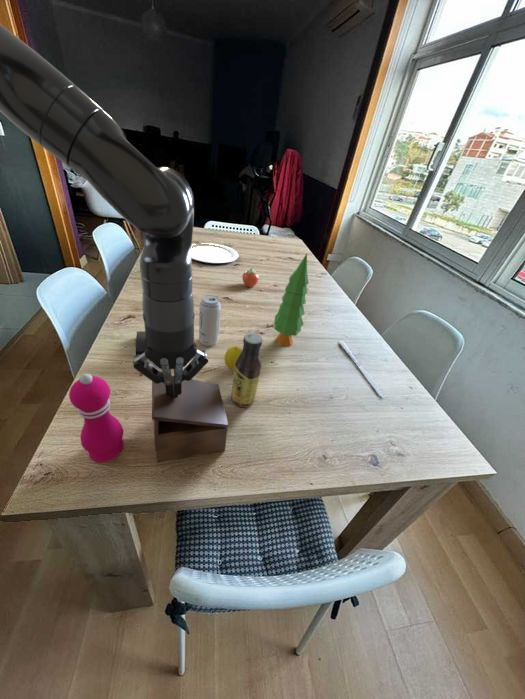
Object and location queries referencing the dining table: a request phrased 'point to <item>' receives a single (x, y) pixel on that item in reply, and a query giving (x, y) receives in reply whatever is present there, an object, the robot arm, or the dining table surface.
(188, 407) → the lid
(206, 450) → the box
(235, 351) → the lemon
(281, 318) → the decorative tree
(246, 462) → the dining table surface
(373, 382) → the butter knife
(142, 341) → the button housing
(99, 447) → the pepper mill
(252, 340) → the sauce bottle
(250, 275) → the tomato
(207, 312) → the energy drink can
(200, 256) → the plate
